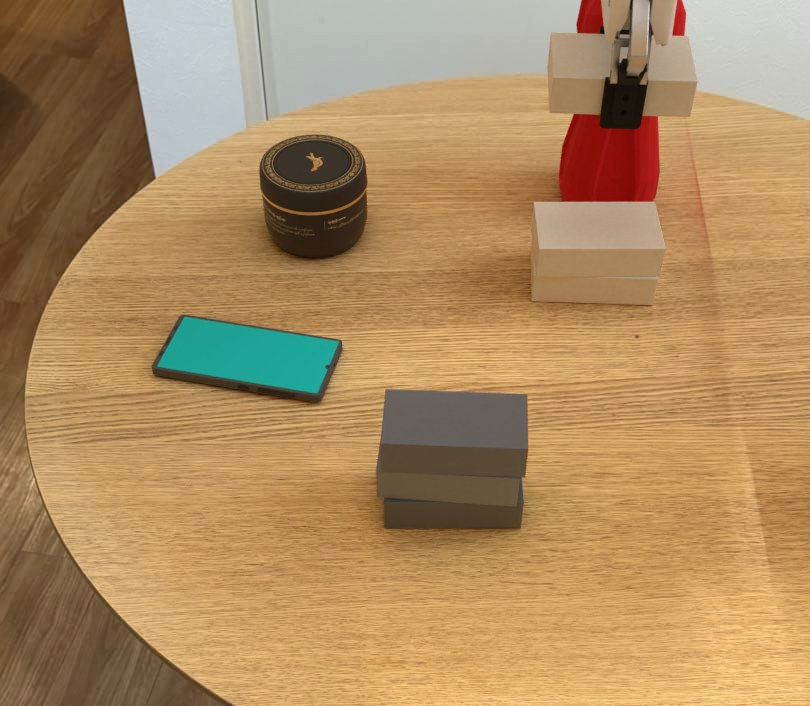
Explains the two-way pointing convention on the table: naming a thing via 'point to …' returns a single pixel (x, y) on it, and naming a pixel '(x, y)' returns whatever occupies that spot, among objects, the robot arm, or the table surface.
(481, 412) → the grey pile
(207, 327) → the smartphone
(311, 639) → the table surface
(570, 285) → the white pile
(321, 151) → the jar
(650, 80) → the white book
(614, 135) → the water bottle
